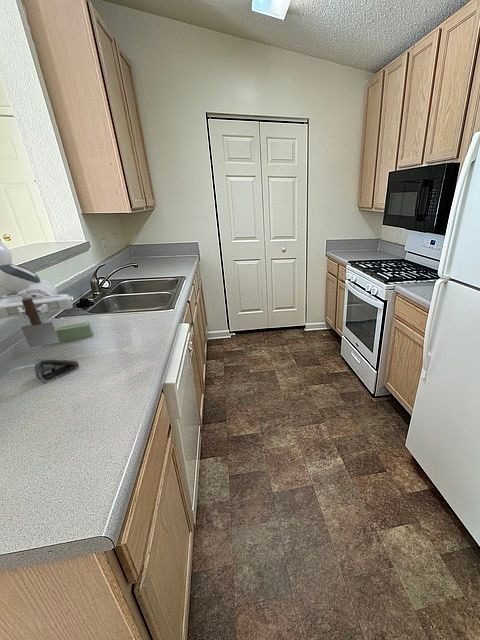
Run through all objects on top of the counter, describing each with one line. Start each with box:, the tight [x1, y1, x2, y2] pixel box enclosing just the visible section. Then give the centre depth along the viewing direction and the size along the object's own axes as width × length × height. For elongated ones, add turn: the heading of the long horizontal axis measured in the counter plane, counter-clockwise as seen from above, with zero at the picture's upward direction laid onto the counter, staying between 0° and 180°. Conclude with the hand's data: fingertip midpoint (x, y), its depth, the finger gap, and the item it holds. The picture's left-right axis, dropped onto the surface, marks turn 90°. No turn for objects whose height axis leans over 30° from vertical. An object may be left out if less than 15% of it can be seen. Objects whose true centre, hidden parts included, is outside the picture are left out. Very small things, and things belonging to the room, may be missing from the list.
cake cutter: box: [20, 298, 61, 348], centre depth 103 cm, size 8×3×15 cm, turn 118°
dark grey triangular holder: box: [34, 358, 80, 383], centre depth 109 cm, size 10×7×12 cm
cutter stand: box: [54, 321, 94, 344], centre depth 135 cm, size 12×5×6 cm, turn 118°
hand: (31, 312), depth 100 cm, fingers closed on cake cutter, 2 cm apart
